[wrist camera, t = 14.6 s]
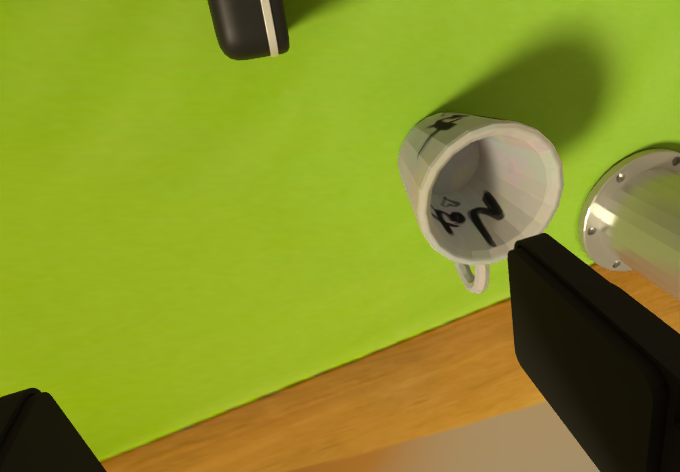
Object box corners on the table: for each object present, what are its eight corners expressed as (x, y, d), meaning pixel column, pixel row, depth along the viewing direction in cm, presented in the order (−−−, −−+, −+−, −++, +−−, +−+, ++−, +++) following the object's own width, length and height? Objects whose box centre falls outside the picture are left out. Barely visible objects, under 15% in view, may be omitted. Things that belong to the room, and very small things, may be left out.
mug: (499, 83, 39) (572, 108, 31) (495, 243, 46) (554, 301, 37) (375, 105, 38) (414, 137, 30) (390, 265, 45) (425, 329, 36)
